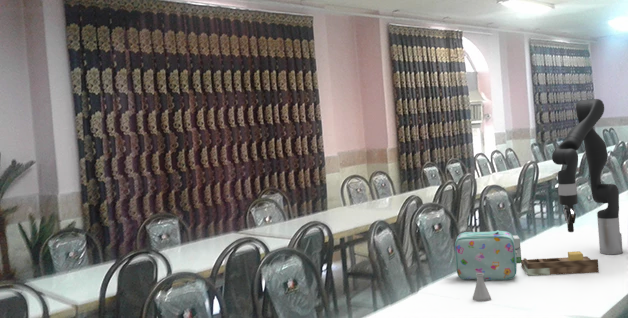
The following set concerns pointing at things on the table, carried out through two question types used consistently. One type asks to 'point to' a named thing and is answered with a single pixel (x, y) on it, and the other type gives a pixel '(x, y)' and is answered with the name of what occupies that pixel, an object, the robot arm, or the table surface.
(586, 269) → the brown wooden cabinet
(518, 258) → the ink box
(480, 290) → the flask
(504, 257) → the lunch box
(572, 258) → the block
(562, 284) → the table surface
